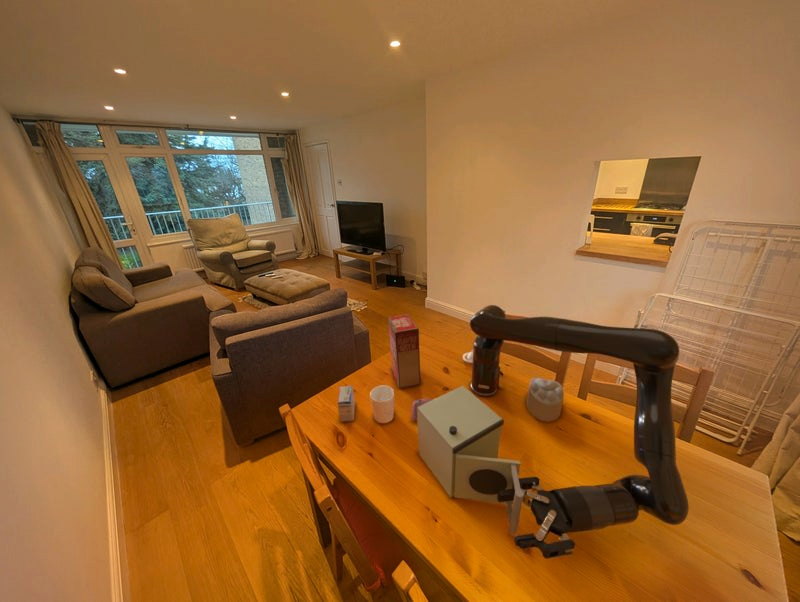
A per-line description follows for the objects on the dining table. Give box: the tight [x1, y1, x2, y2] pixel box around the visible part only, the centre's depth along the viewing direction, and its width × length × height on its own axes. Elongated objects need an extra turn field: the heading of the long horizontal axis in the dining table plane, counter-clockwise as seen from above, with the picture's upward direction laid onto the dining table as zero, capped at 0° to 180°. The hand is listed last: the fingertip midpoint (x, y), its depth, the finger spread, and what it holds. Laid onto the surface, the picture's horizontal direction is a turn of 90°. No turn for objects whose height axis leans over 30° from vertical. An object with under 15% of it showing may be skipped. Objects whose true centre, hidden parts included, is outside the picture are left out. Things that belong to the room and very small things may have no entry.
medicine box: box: [337, 385, 356, 423], centre depth 100 cm, size 8×4×9 cm, turn 5°
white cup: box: [369, 384, 395, 424], centre depth 98 cm, size 8×8×10 cm
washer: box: [416, 385, 505, 499], centre depth 80 cm, size 16×16×19 cm
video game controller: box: [411, 398, 433, 423], centre depth 98 cm, size 10×5×7 cm, turn 84°
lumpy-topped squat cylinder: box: [526, 377, 565, 423], centre depth 98 cm, size 10×13×9 cm
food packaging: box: [387, 313, 422, 390], centre depth 114 cm, size 13×9×25 cm
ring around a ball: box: [462, 349, 473, 365], centre depth 125 cm, size 8×6×8 cm
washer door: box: [453, 454, 524, 536], centre depth 66 cm, size 14×8×14 cm, turn 81°
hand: (505, 517), depth 60 cm, fingers open, 8 cm apart
